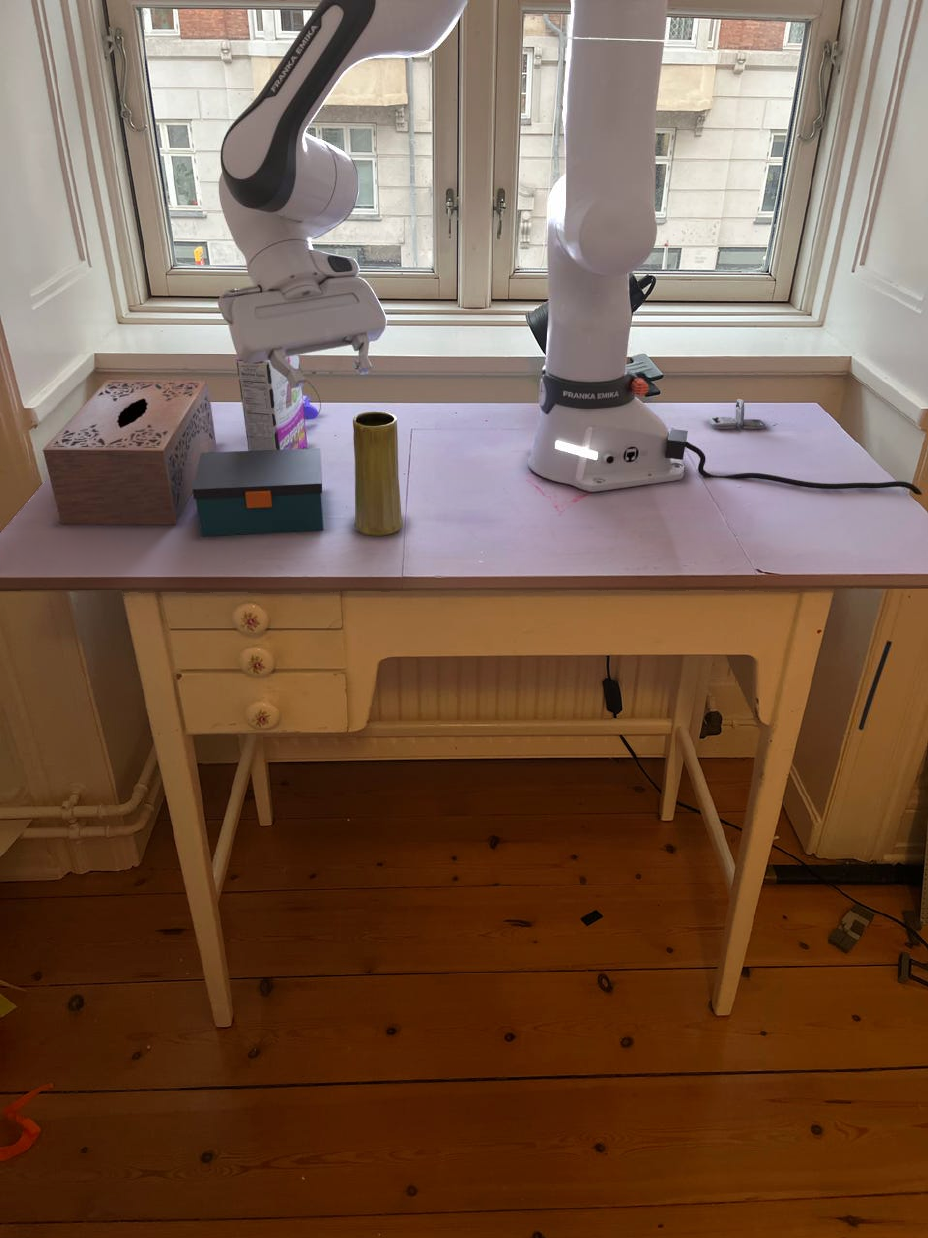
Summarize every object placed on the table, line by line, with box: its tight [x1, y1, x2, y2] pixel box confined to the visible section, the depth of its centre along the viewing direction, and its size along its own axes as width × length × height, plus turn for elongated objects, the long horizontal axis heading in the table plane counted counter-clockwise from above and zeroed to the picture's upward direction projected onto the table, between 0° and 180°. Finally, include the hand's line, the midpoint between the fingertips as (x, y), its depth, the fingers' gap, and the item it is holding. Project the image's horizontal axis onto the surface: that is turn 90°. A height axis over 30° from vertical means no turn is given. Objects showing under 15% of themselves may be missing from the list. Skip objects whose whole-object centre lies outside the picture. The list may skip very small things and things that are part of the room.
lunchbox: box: [192, 447, 324, 537], centre depth 119 cm, size 15×12×6 cm
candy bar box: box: [235, 355, 308, 451], centre depth 131 cm, size 11×5×16 cm, turn 168°
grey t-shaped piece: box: [709, 398, 766, 430], centre depth 149 cm, size 8×3×4 cm, turn 94°
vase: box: [352, 410, 404, 537], centre depth 114 cm, size 6×6×14 cm
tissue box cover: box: [42, 379, 217, 525], centre depth 125 cm, size 26×14×10 cm, turn 1°
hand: (332, 378), depth 116 cm, fingers open, 8 cm apart
